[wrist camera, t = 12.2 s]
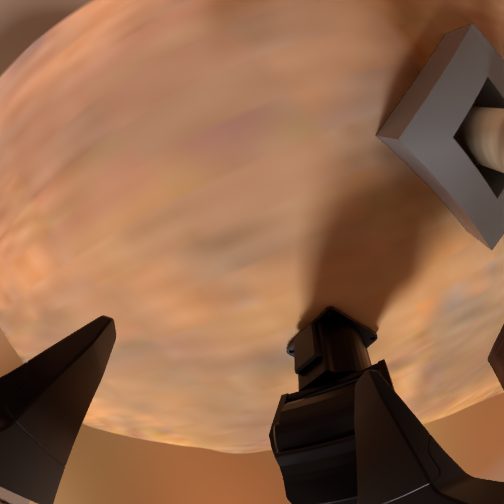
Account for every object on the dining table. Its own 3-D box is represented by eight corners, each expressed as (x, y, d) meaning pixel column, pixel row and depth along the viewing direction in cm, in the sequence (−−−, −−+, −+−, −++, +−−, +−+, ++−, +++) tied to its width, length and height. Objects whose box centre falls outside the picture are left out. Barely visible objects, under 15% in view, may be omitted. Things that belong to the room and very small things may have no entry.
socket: (523, 136, 14) (551, 143, 10) (466, 230, 19) (491, 250, 15) (445, 33, 12) (472, 23, 8) (375, 135, 17) (398, 139, 13)
